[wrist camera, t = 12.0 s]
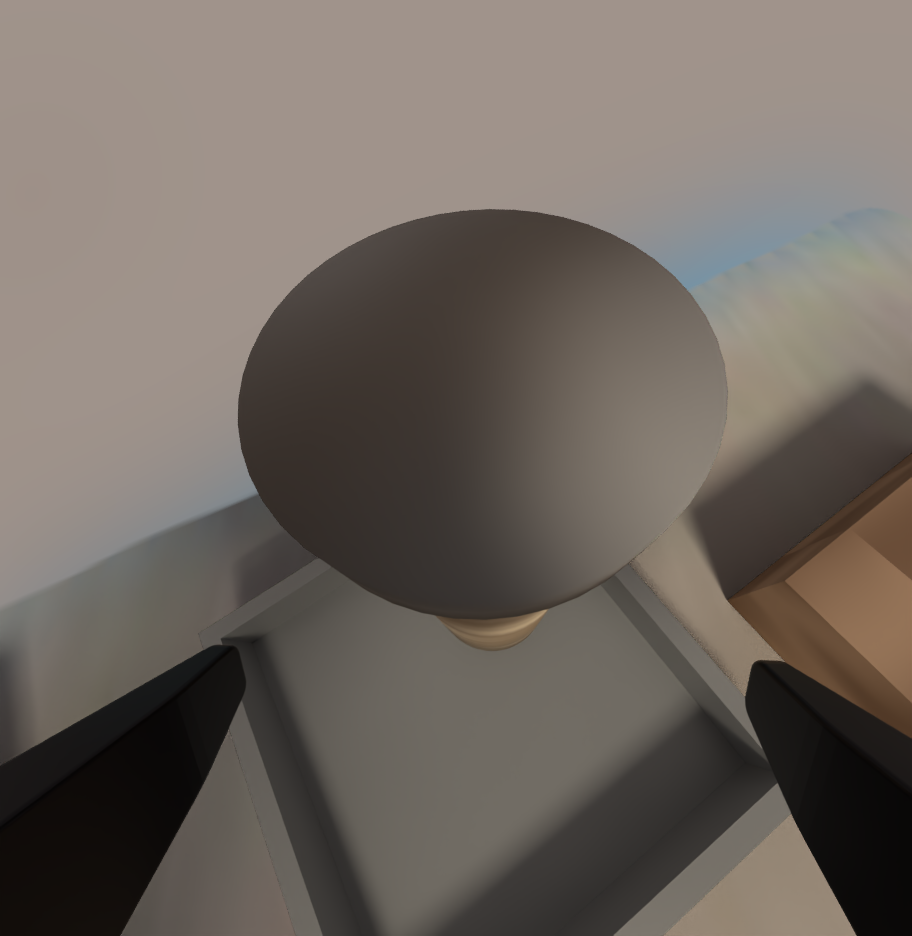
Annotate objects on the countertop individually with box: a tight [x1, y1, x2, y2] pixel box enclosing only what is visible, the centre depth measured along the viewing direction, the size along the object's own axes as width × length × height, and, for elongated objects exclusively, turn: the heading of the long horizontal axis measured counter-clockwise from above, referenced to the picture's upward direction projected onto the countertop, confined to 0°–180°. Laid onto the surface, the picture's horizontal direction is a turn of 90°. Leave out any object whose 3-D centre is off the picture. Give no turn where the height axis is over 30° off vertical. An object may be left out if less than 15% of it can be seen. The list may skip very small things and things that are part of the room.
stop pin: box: [238, 209, 728, 651], centre depth 10 cm, size 5×5×13 cm
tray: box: [198, 558, 791, 936], centre depth 14 cm, size 13×13×2 cm
